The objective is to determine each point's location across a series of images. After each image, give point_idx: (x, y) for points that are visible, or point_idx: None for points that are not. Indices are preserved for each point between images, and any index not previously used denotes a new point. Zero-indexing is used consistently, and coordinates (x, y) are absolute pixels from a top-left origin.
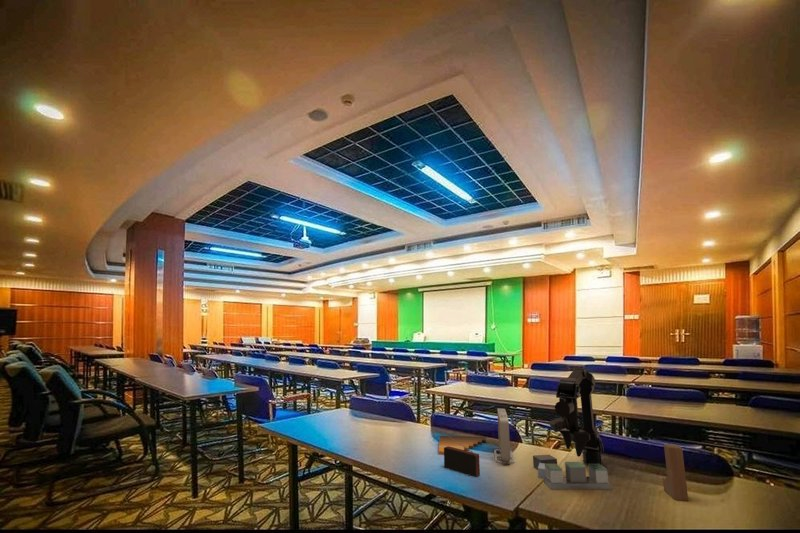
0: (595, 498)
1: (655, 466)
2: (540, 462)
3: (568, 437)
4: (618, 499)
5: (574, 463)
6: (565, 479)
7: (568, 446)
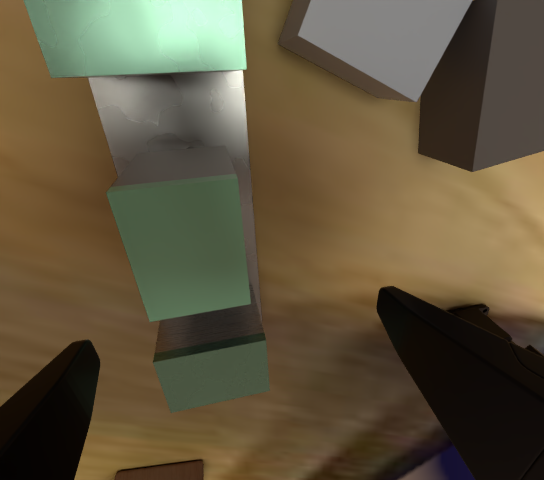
0: (4, 238)
1: (386, 460)
2: (478, 2)
3: (492, 441)
4: (44, 334)
5: (198, 255)
6: (192, 130)
7: (392, 319)
